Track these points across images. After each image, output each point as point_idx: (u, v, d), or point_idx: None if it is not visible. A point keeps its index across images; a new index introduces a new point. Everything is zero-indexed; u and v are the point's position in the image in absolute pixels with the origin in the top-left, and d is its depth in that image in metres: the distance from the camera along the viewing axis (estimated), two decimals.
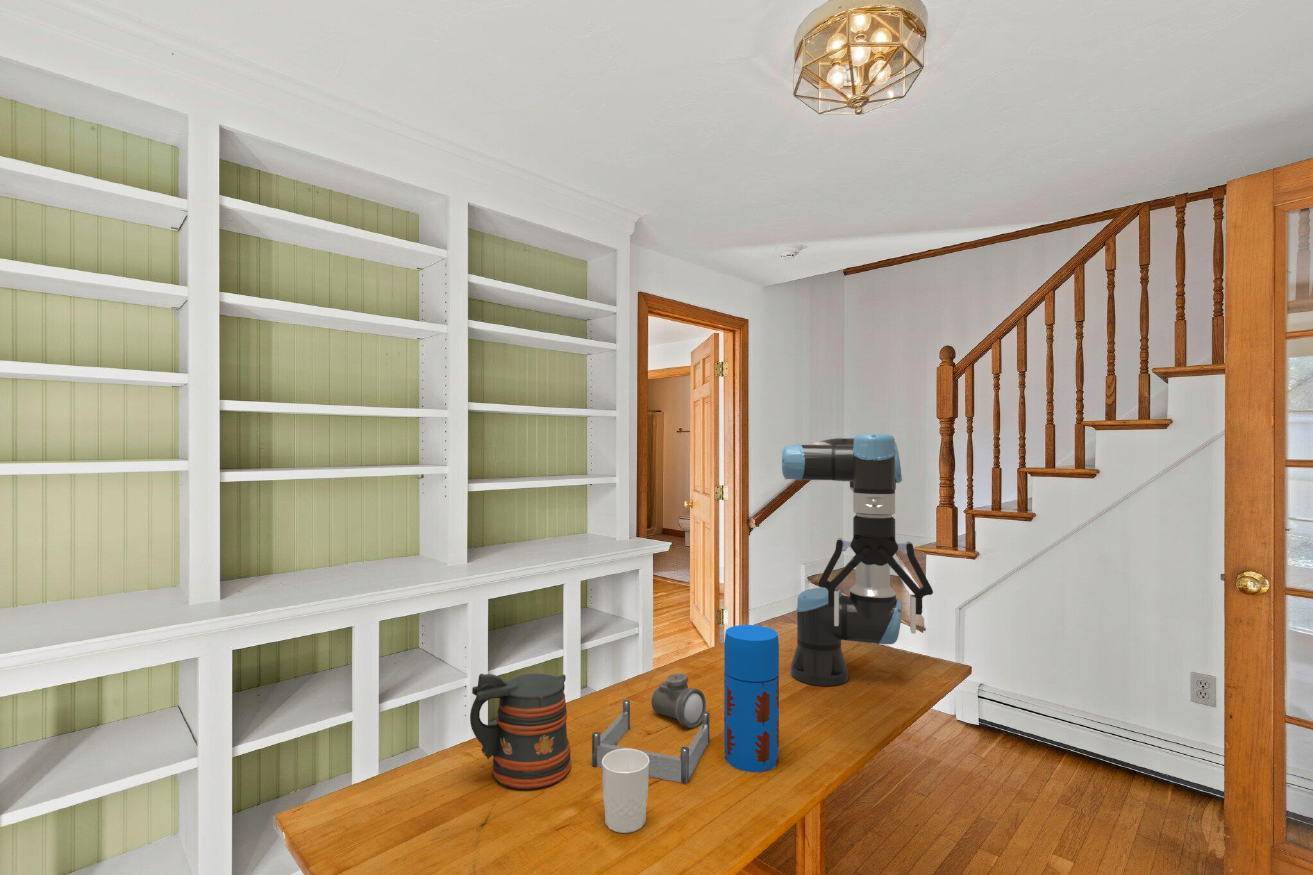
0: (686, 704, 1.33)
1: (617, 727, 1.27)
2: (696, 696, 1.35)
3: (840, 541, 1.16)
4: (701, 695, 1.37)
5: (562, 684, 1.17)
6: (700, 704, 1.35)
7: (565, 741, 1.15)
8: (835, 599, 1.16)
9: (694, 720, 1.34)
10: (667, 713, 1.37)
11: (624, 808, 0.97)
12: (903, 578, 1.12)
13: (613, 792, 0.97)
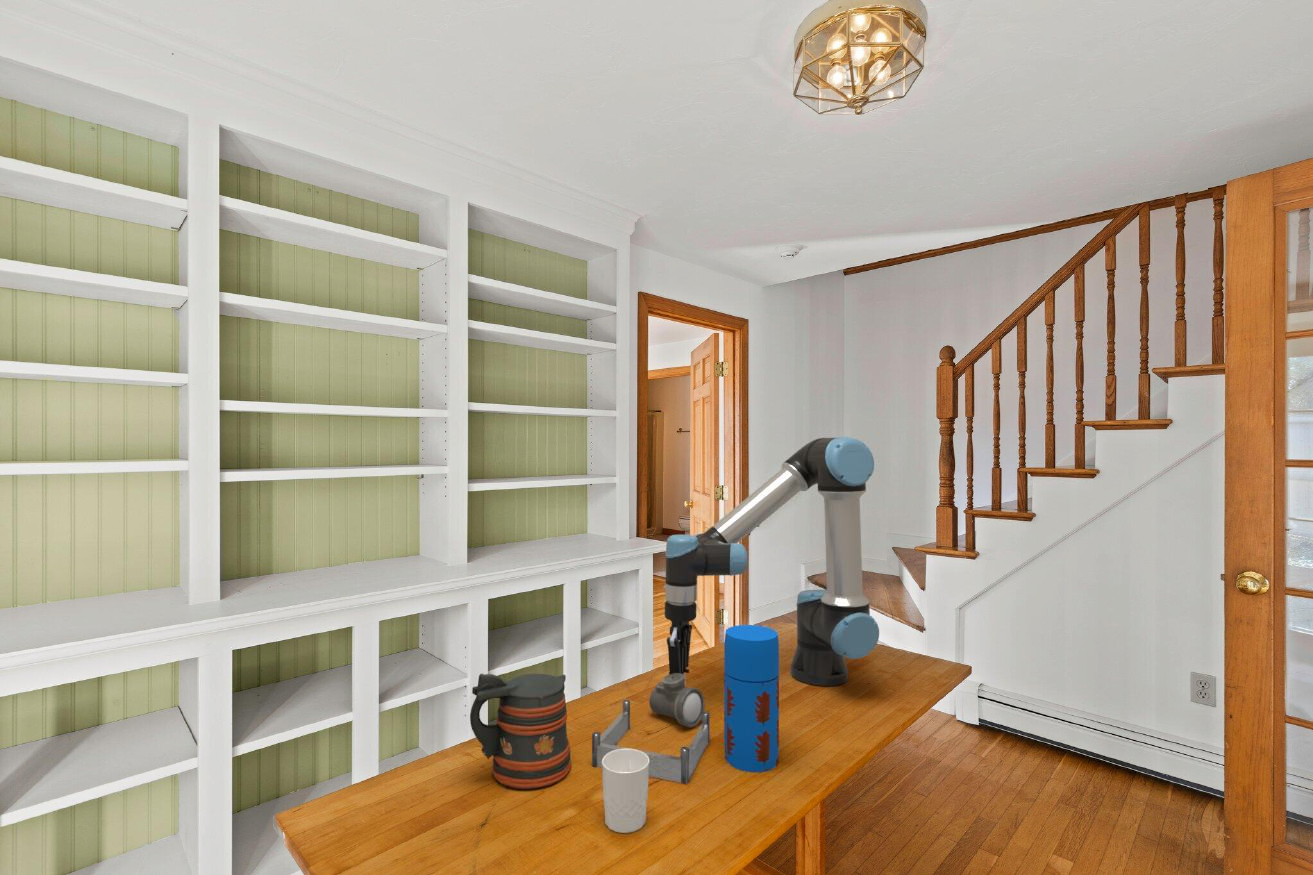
0: (685, 705, 1.32)
1: (617, 727, 1.27)
2: (694, 696, 1.35)
3: None
4: (699, 693, 1.36)
5: (562, 684, 1.17)
6: (698, 702, 1.35)
7: (565, 741, 1.15)
8: None
9: (694, 719, 1.34)
10: (666, 714, 1.36)
11: (624, 808, 0.97)
12: None
13: (613, 792, 0.97)
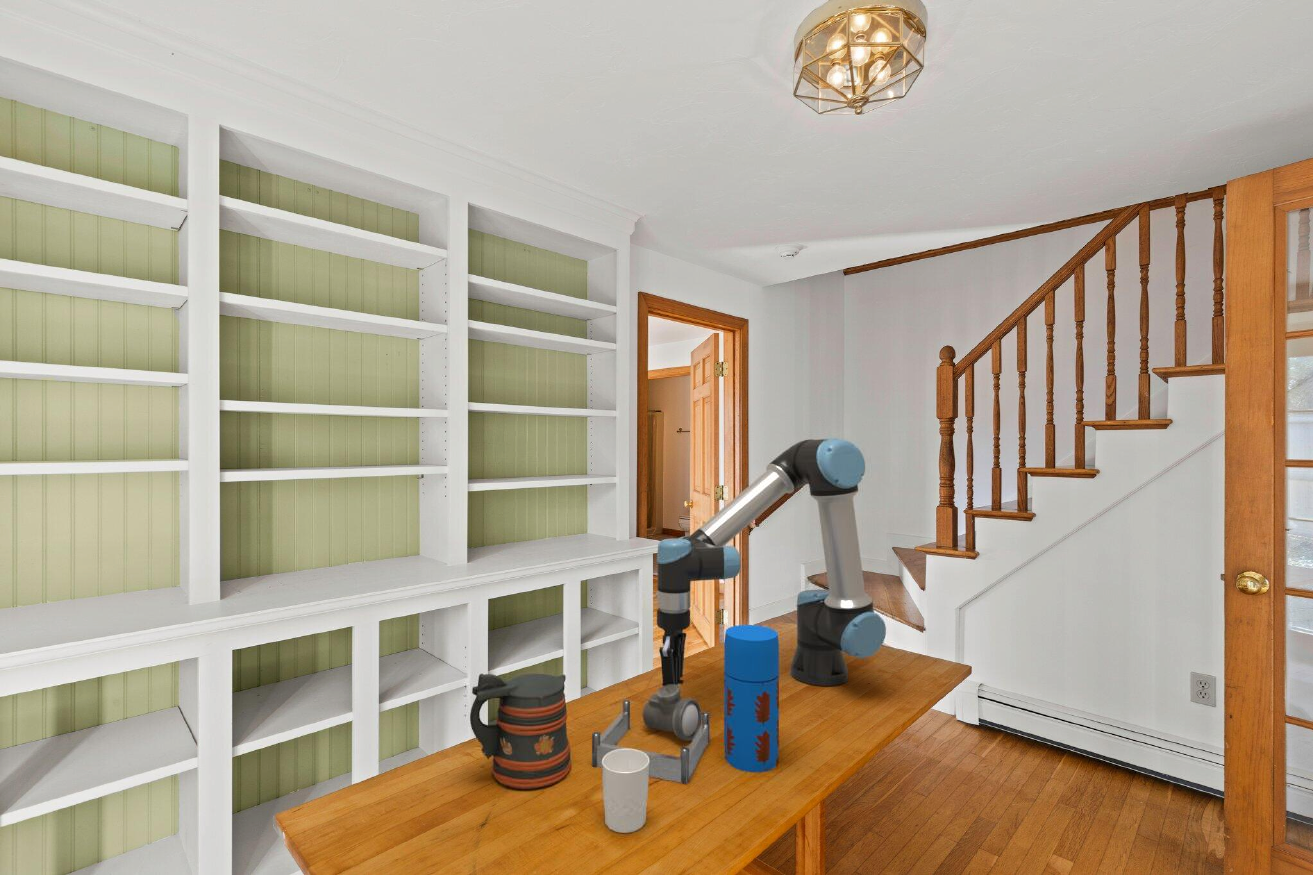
0: (683, 718, 1.26)
1: (617, 727, 1.27)
2: (692, 707, 1.29)
3: None
4: (696, 704, 1.30)
5: (562, 684, 1.17)
6: (696, 714, 1.29)
7: (565, 741, 1.15)
8: None
9: (692, 732, 1.28)
10: (662, 728, 1.30)
11: (624, 808, 0.97)
12: None
13: (613, 792, 0.97)
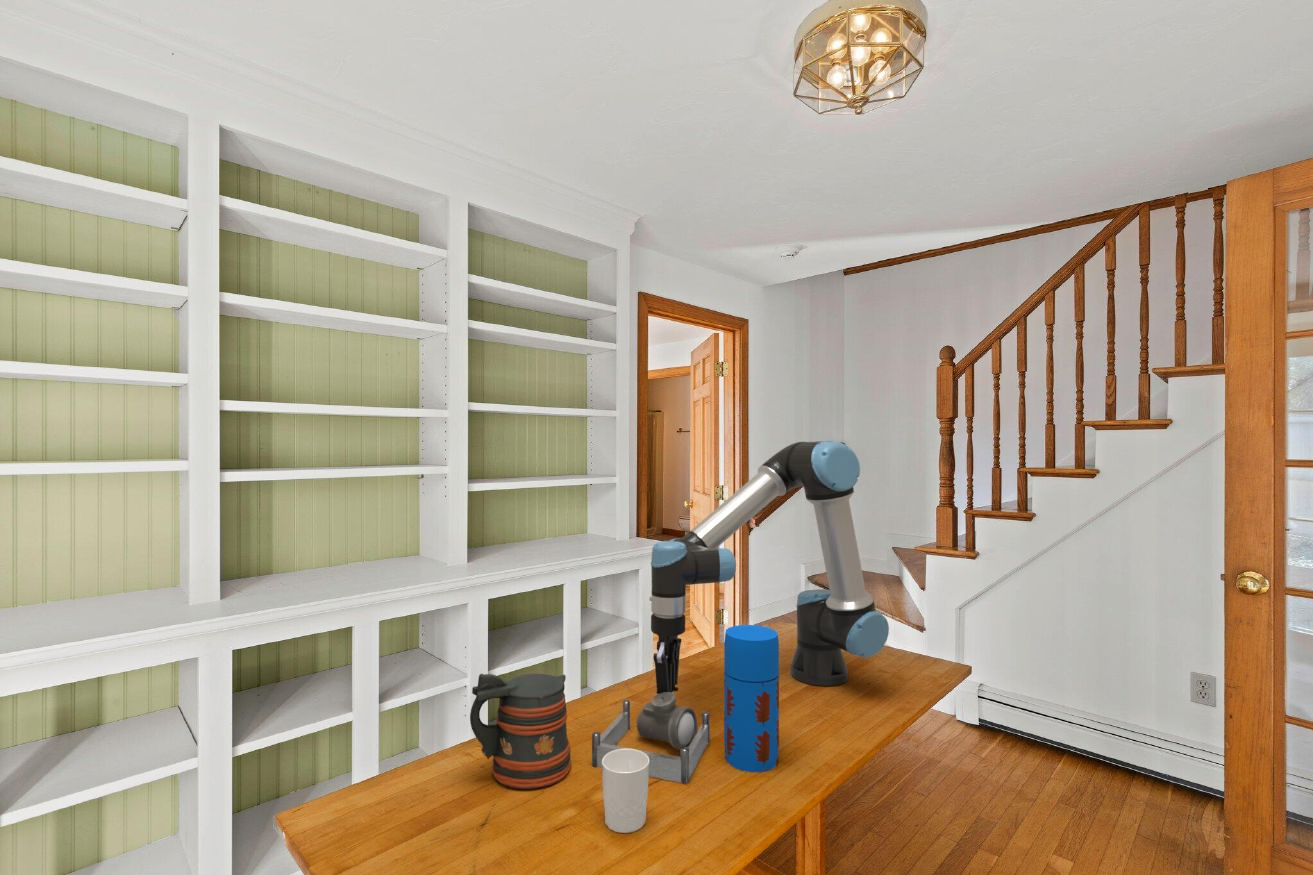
0: (679, 727, 1.22)
1: (617, 727, 1.27)
2: (688, 716, 1.24)
3: None
4: (691, 712, 1.26)
5: (562, 684, 1.17)
6: (692, 722, 1.25)
7: (565, 741, 1.15)
8: None
9: (688, 741, 1.24)
10: (657, 738, 1.25)
11: (624, 808, 0.97)
12: None
13: (613, 792, 0.97)
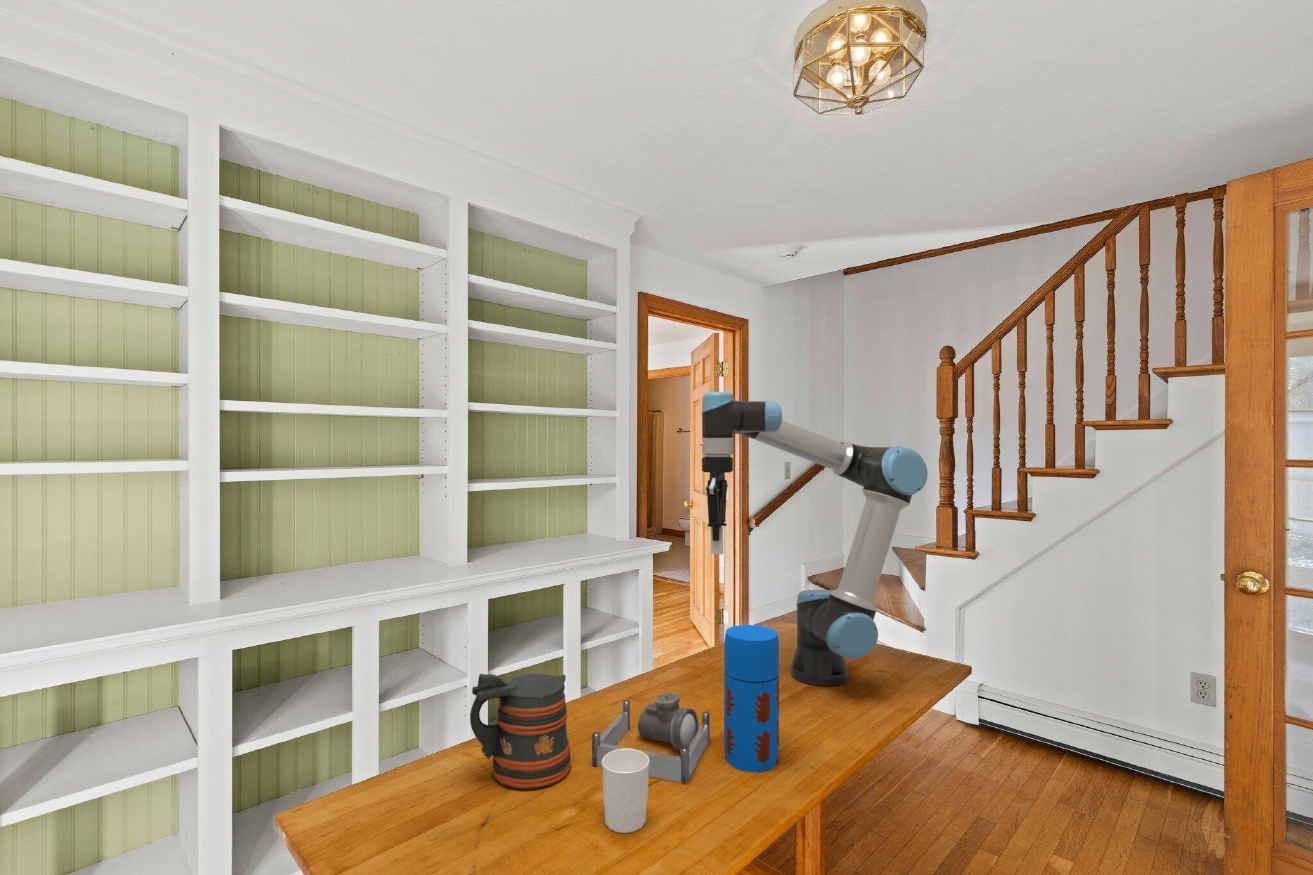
0: (681, 726, 1.22)
1: (617, 727, 1.27)
2: (690, 717, 1.25)
3: None
4: (694, 714, 1.27)
5: (562, 684, 1.17)
6: (694, 724, 1.26)
7: (565, 741, 1.15)
8: None
9: (689, 742, 1.24)
10: (658, 738, 1.25)
11: (624, 808, 0.97)
12: None
13: (613, 792, 0.97)
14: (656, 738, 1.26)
